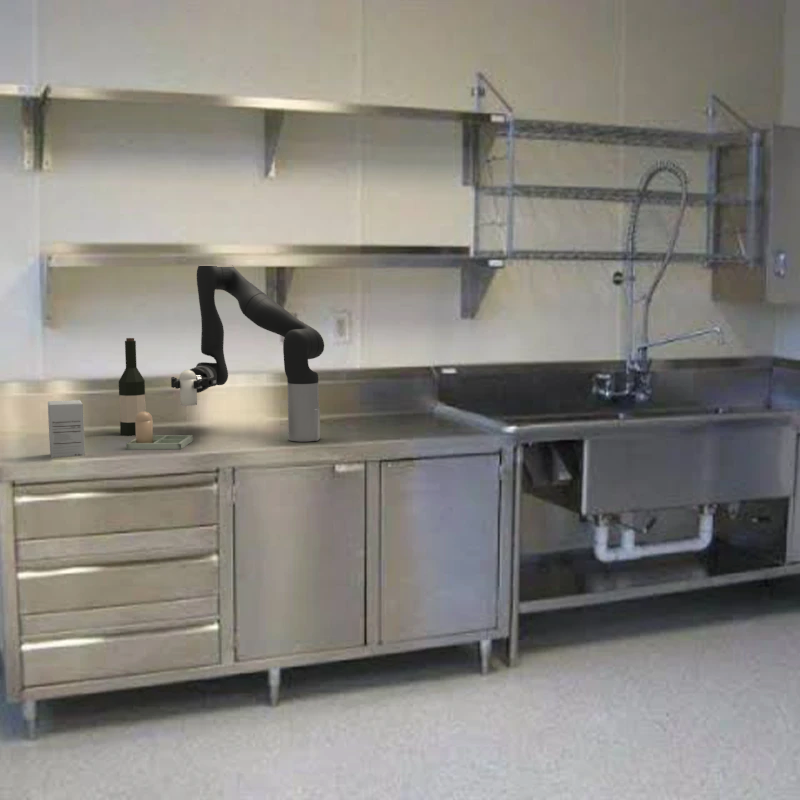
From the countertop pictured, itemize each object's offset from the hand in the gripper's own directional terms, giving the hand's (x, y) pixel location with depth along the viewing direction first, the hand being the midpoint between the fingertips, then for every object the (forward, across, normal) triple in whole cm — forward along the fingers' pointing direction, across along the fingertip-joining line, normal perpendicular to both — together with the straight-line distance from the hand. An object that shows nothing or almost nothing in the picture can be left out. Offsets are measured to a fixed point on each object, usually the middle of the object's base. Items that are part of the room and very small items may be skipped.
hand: (185, 385), depth 300 cm
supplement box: (+17, -29, +18) cm, 38 cm away
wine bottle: (-23, -23, +18) cm, 37 cm away
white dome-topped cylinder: (-3, 0, +6) cm, 7 cm away
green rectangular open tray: (+1, -8, +18) cm, 19 cm away
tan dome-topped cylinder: (+5, -11, +17) cm, 21 cm away
